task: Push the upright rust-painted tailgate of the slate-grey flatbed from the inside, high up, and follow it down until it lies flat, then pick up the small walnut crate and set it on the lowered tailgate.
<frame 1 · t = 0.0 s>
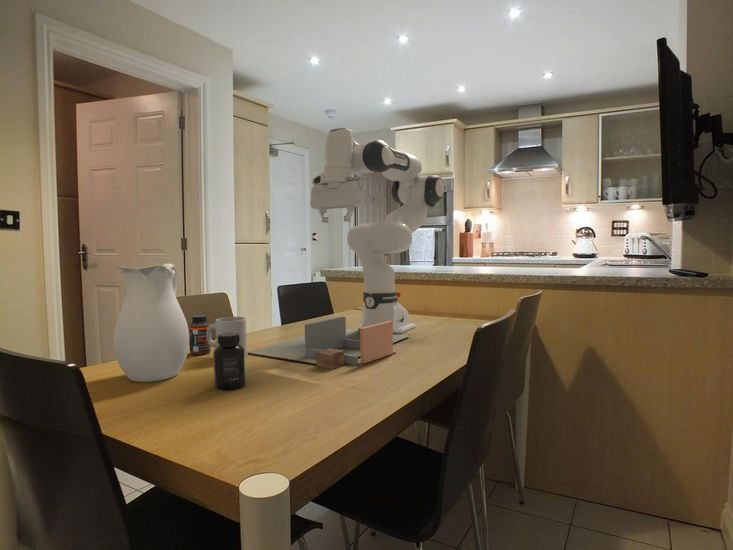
hand: (335, 222, 152), 39 cm above the table, tool pointing down, fingers open, 8 cm apart
pitcher: (160, 372, 121), on the table
supplement bottle 2: (200, 353, 142), on the table
walnut crate: (330, 370, 121), on the table
supplement bottle: (230, 387, 109), on the table
flatbed: (348, 358, 132), on the table
mug: (226, 357, 137), on the table
tailgate: (377, 341, 126), point 6 cm above the table, hinge at 0.0°
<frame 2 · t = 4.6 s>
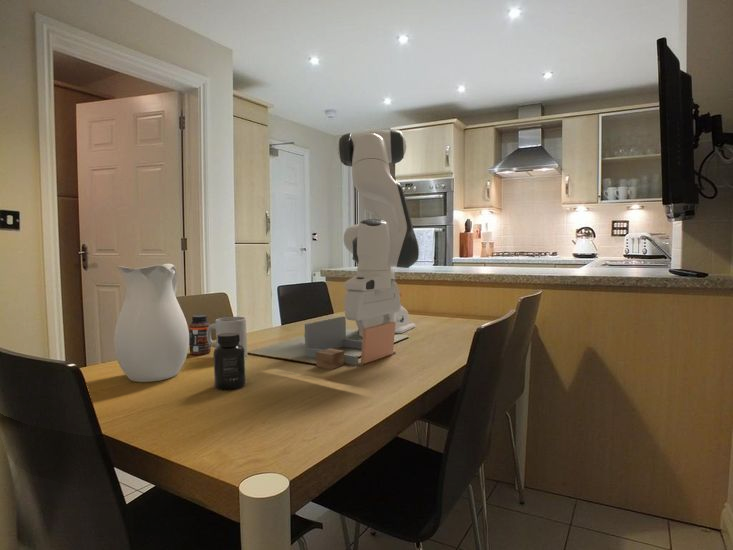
hand: (374, 332, 126), 8 cm above the table, tool pointing down, fingers open, 8 cm apart
tailgate: (378, 341, 126), point 6 cm above the table, hinge at 6.2°, touching gripper
everything else where it was.
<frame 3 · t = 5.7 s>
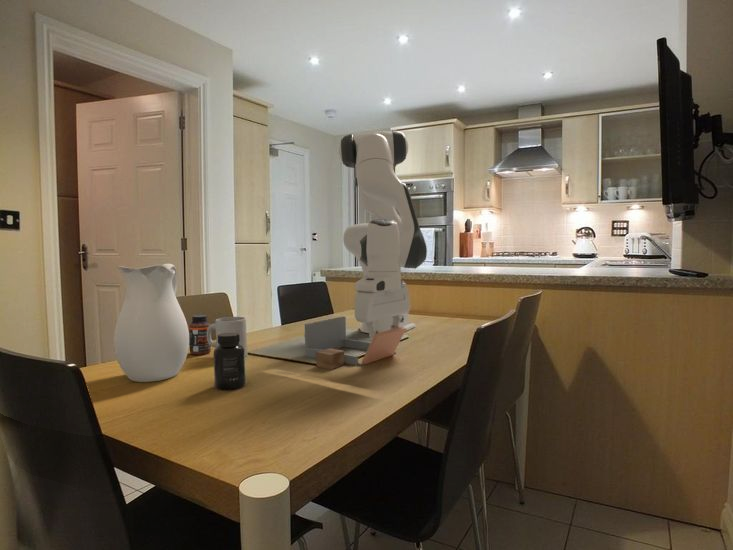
hand: (384, 334, 124), 8 cm above the table, tool pointing down
tailgate: (384, 344, 125), point 5 cm above the table, hinge at 29.8°, touching gripper
everything else where it was.
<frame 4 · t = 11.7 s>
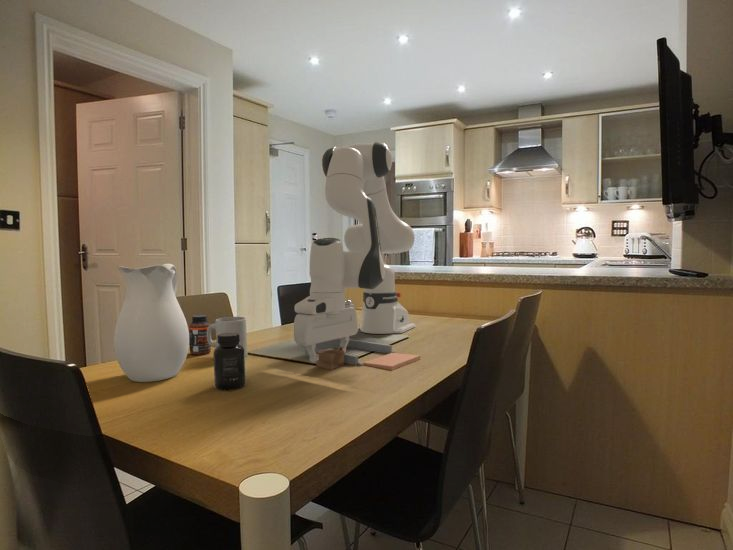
hand: (328, 357, 120), 3 cm above the table, tool pointing down, fingers open, 8 cm apart
tailgate: (392, 360, 123), point 1 cm above the table, hinge at 87.3°
everything else where it was.
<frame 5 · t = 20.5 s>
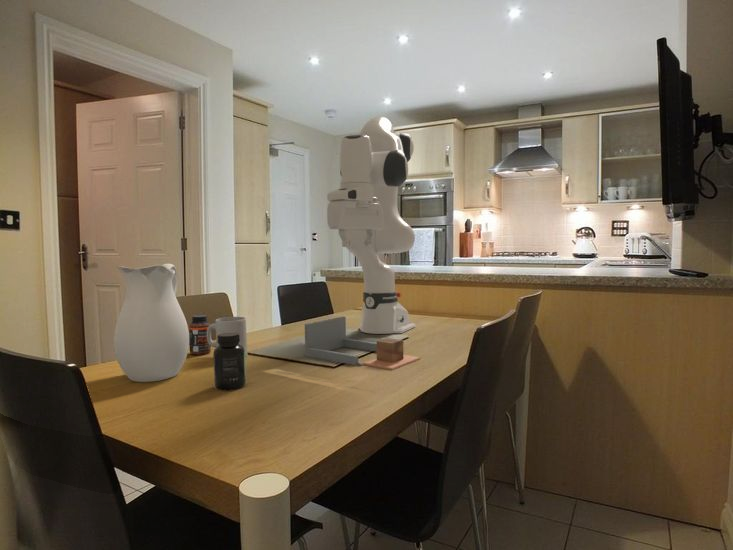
hand: (357, 246, 129), 31 cm above the table, tool pointing down, fingers open, 8 cm apart
walnut crate: (390, 359, 124), point 2 cm above the table, touching tailgate
tailgate: (392, 361, 123), point 1 cm above the table, hinge at 90.2°, touching walnut crate
everything else where it was.
at the end: tailgate at +90° (first picture: +0°); walnut crate inside the target area (1.4 cm from its centre), point 1.7 cm above the table; the gripper is holding nothing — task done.
